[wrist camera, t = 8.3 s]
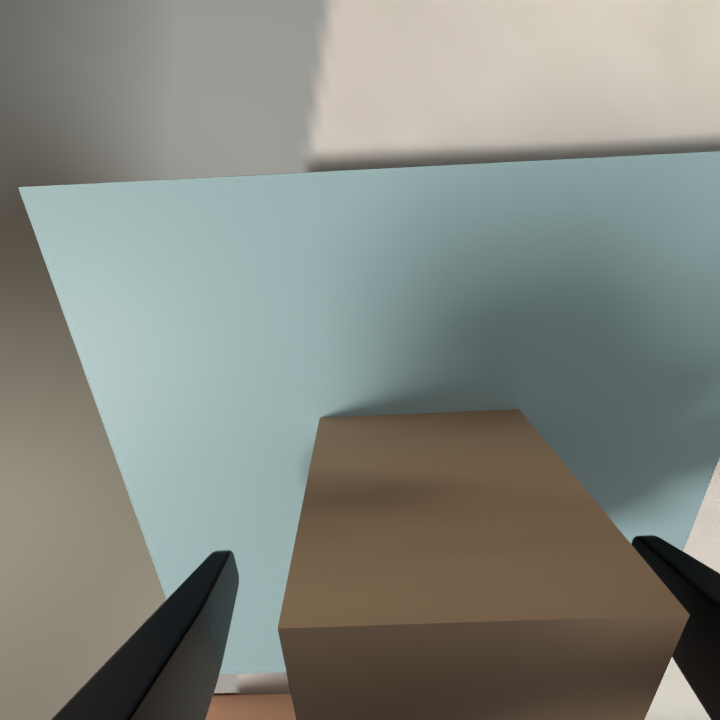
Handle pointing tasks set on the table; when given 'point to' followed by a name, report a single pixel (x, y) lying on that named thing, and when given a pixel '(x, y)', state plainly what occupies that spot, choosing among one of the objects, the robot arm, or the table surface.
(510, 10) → the table surface
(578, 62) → the table surface
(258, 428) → the board
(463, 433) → the walnut cube
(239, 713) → the terracotta cube
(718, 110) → the table surface
